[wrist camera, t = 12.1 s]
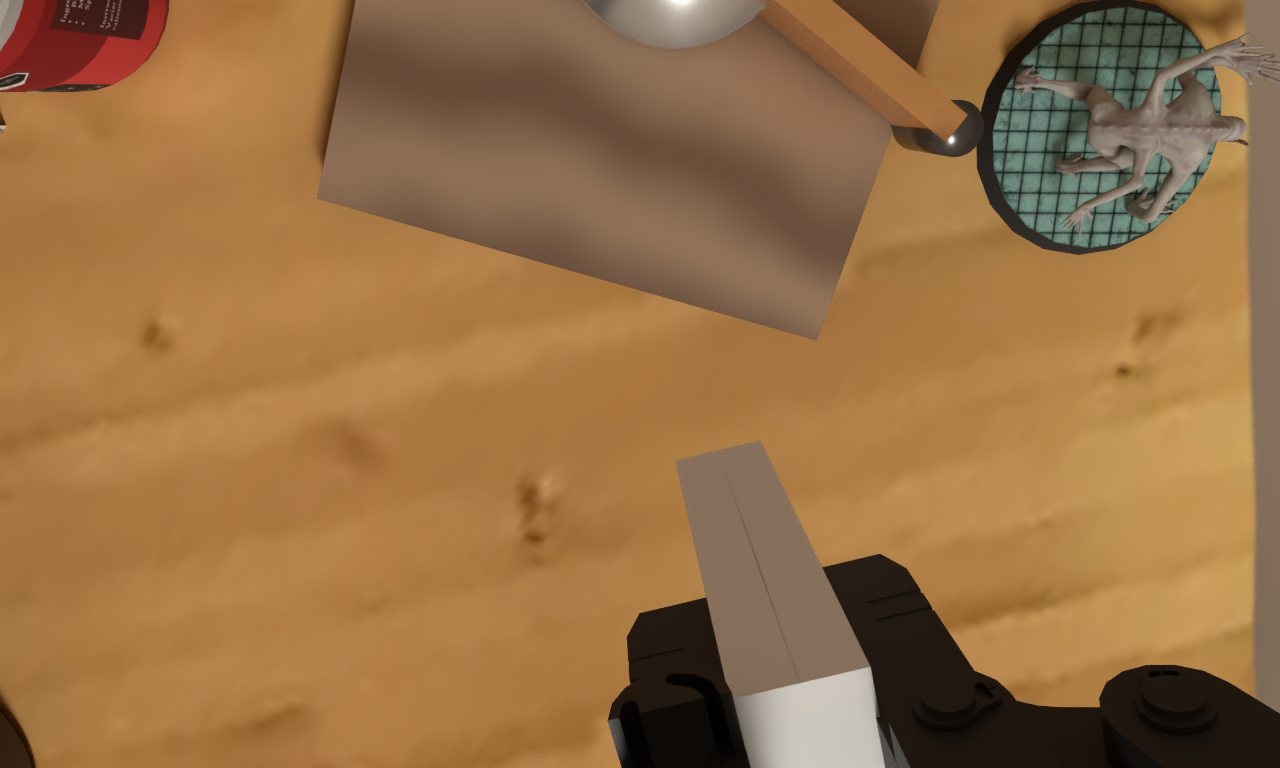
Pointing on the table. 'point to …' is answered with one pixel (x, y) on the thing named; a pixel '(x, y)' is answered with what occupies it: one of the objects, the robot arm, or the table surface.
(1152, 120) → the figurine
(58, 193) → the table surface
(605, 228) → the level stand
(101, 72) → the canned food
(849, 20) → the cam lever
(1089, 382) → the table surface
